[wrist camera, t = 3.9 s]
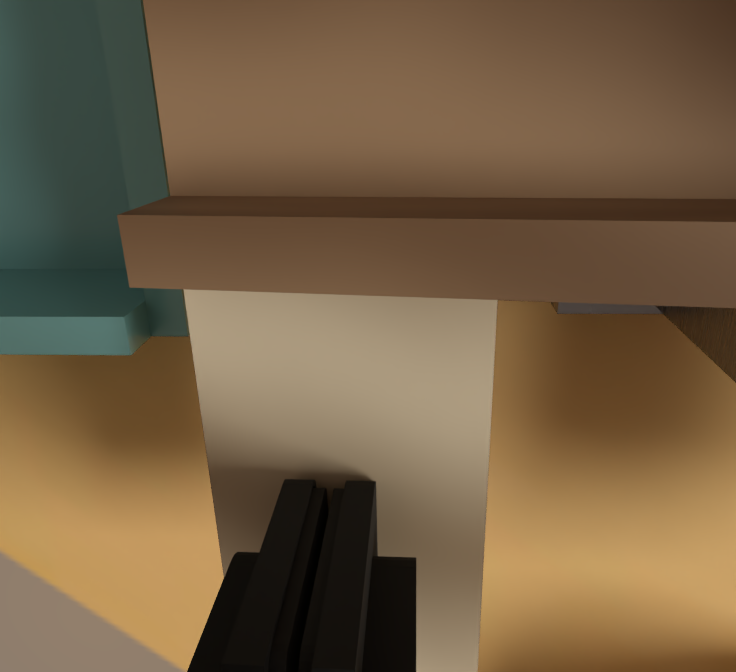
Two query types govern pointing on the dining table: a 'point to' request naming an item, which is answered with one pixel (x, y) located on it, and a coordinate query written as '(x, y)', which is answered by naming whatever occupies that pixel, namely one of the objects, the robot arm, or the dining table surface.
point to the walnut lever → (418, 234)
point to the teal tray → (77, 178)
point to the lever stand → (681, 326)
